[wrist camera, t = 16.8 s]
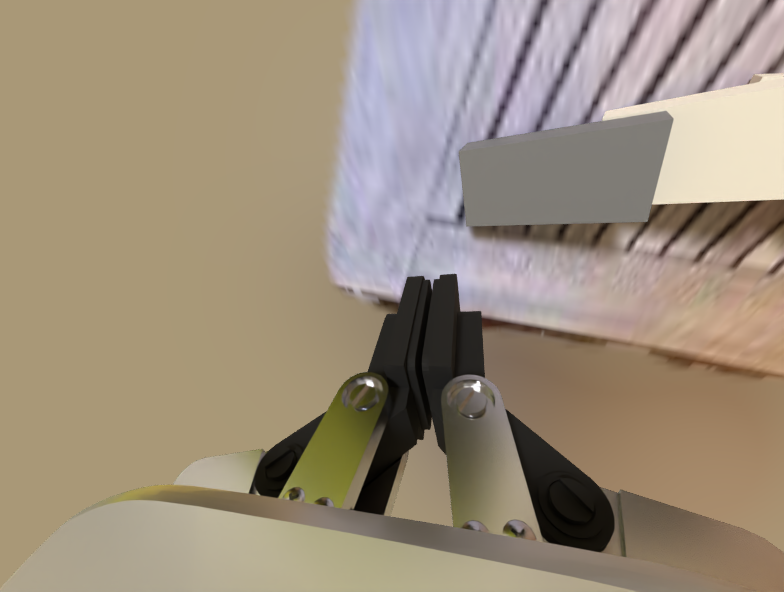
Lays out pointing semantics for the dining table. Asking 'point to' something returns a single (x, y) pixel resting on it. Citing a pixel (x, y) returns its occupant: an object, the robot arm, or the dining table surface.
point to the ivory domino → (721, 144)
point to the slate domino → (566, 173)
